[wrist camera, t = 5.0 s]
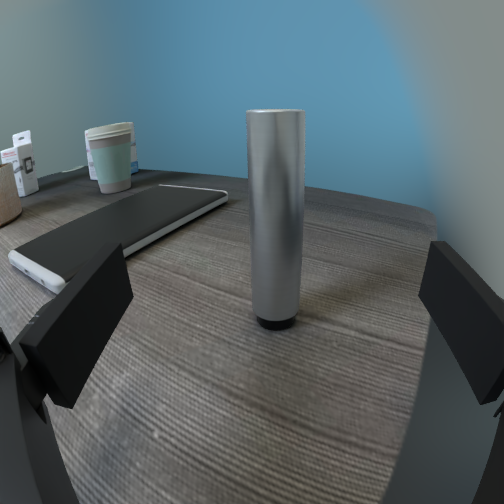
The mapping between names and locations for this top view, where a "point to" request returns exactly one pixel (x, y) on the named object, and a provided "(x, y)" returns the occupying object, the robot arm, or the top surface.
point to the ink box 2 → (133, 155)
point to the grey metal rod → (276, 212)
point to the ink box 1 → (22, 163)
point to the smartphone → (111, 231)
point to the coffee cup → (111, 156)
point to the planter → (8, 195)
